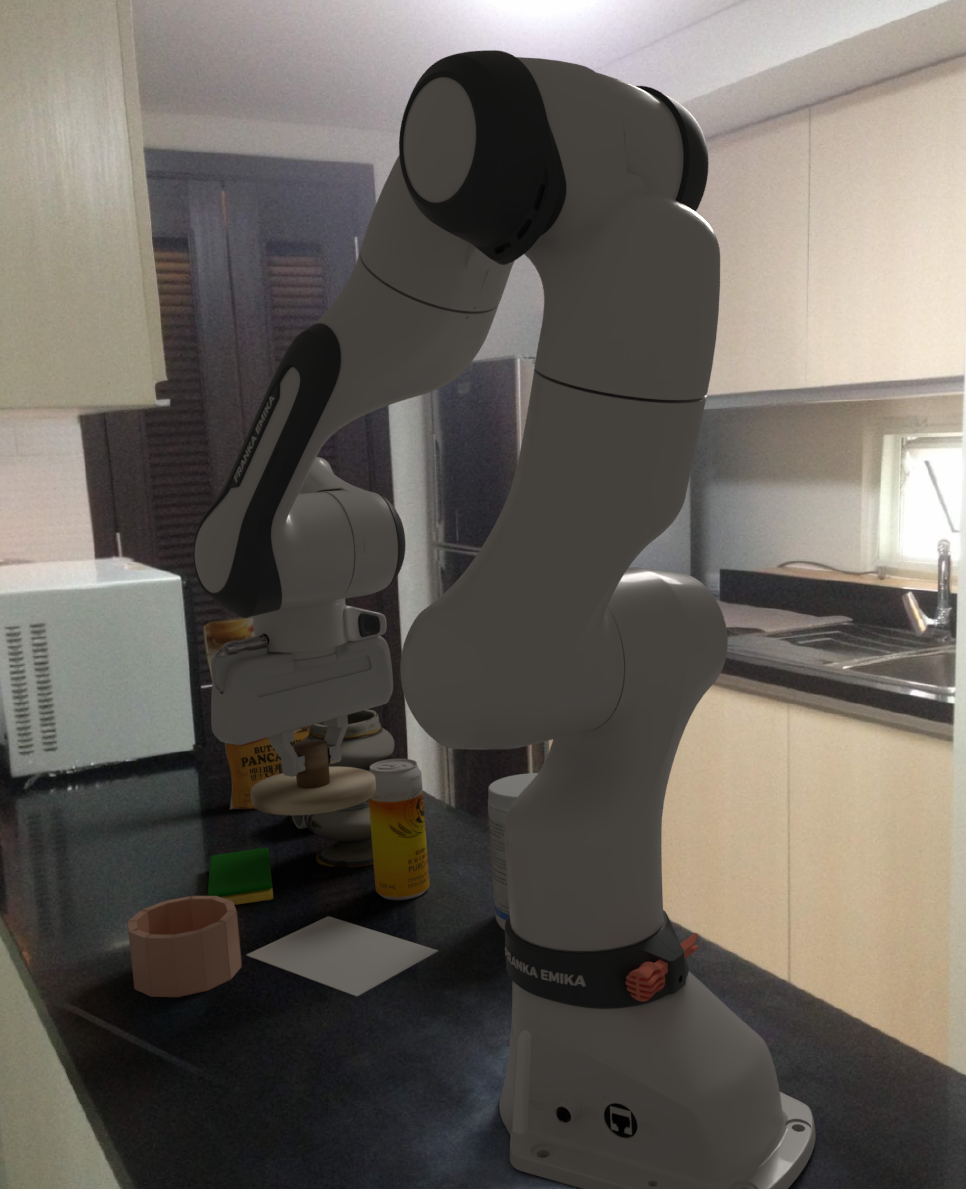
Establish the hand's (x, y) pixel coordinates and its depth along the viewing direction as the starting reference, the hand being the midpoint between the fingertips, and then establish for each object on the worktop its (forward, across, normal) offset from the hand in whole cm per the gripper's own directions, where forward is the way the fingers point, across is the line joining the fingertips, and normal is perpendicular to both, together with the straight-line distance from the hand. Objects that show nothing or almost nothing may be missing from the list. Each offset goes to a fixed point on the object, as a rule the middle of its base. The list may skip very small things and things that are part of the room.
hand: (312, 768), depth 105 cm
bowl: (+19, -10, +9) cm, 23 cm away
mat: (+19, +1, -1) cm, 19 cm away
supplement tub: (+19, +18, -13) cm, 29 cm away
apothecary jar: (+20, +22, +19) cm, 35 cm away
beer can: (+20, +16, +5) cm, 26 cm away
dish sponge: (+20, +8, +24) cm, 32 cm away
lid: (+3, 0, 0) cm, 3 cm away
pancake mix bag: (+20, +34, +48) cm, 62 cm away
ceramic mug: (+20, +29, +34) cm, 49 cm away
